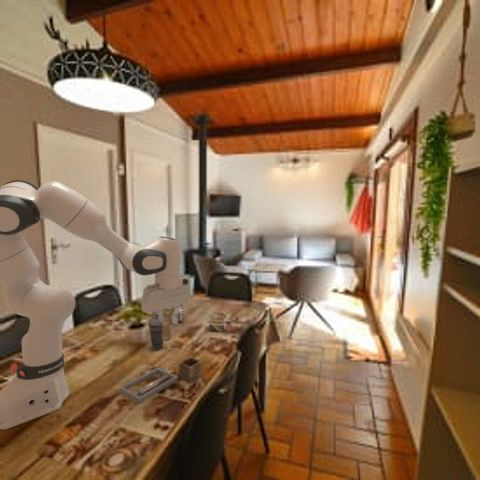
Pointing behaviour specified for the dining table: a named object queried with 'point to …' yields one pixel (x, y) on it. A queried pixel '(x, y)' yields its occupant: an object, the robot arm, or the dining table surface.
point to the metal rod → (153, 385)
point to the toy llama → (177, 314)
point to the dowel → (166, 325)
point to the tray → (140, 399)
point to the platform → (216, 325)
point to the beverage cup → (156, 332)
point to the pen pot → (190, 369)
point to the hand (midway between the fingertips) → (166, 319)
